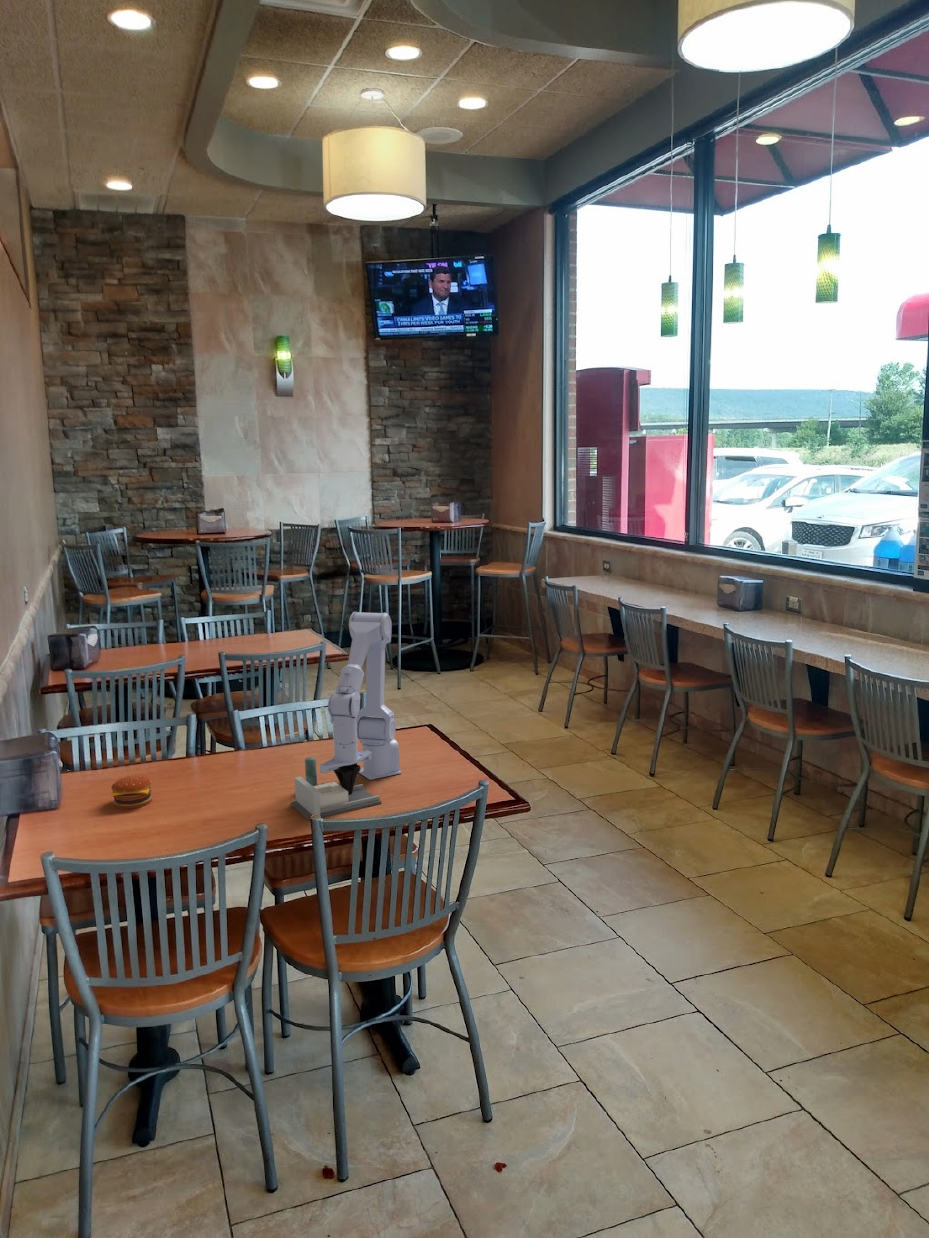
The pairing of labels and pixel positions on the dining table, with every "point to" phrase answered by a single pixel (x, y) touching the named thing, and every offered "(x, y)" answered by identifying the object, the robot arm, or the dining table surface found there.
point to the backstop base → (310, 806)
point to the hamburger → (131, 792)
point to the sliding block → (331, 794)
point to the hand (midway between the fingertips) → (347, 793)
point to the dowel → (311, 771)
